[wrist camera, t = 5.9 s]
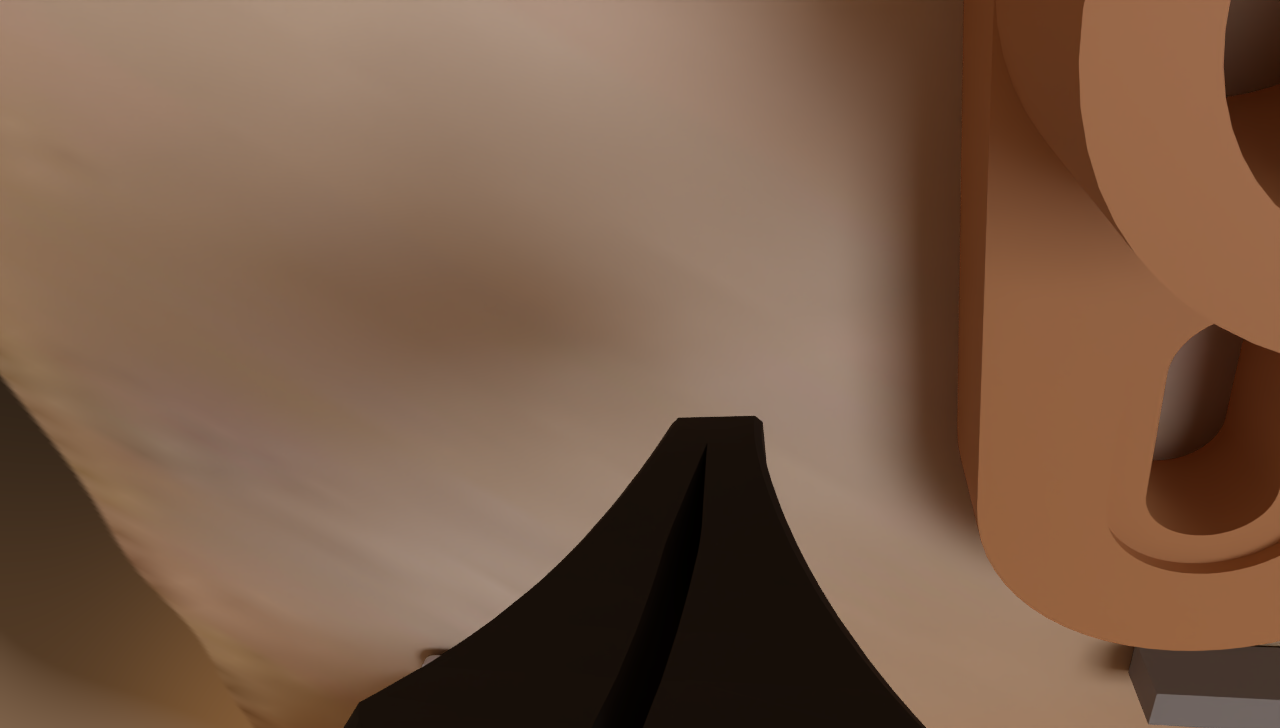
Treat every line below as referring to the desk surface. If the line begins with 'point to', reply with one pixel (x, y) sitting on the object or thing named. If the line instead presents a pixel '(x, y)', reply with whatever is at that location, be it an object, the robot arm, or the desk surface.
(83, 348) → the desk surface
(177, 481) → the desk surface
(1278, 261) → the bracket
